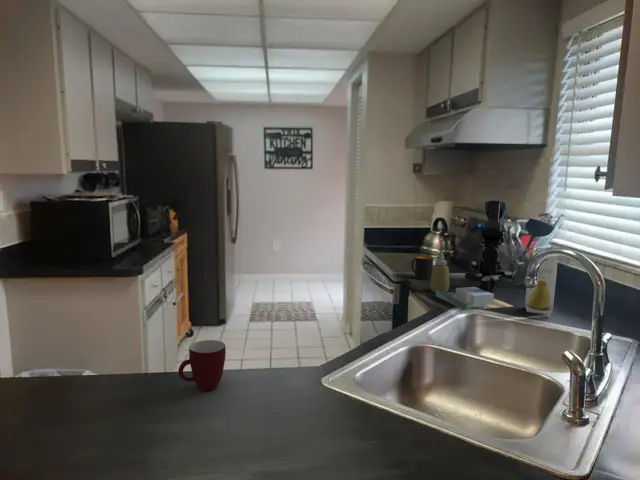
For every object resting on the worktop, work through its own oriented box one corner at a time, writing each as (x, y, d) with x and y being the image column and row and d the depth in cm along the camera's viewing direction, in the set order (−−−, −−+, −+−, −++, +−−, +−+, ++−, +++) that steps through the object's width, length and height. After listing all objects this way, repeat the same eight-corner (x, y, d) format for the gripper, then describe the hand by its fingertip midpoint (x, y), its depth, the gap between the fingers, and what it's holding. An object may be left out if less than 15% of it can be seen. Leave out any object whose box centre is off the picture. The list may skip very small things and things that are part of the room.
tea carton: (474, 296, 191) (475, 286, 191) (493, 304, 180) (494, 294, 179) (455, 297, 188) (455, 288, 188) (473, 305, 177) (474, 295, 176)
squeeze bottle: (450, 296, 195) (453, 254, 192) (431, 295, 195) (434, 253, 192) (446, 291, 203) (448, 251, 200) (427, 291, 203) (430, 250, 200)
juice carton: (524, 315, 171) (530, 250, 168) (523, 309, 178) (529, 247, 175) (552, 318, 168) (559, 253, 164) (550, 312, 175) (557, 249, 171)
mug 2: (417, 274, 237) (418, 254, 235) (435, 279, 227) (436, 258, 226) (405, 276, 232) (406, 255, 230) (423, 281, 222) (425, 259, 221)
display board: (481, 295, 197) (481, 287, 196) (513, 309, 178) (514, 300, 178) (435, 298, 190) (436, 290, 190) (464, 313, 171) (465, 303, 171)
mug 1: (187, 402, 101) (186, 358, 99) (174, 388, 107) (173, 346, 106) (231, 389, 107) (231, 348, 105) (216, 377, 113) (216, 337, 112)
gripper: (496, 253, 194) (493, 290, 196) (457, 255, 188) (455, 292, 190) (515, 258, 183) (511, 297, 186) (475, 260, 178) (472, 299, 180)
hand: (487, 296), depth 186 cm, fingers closed
